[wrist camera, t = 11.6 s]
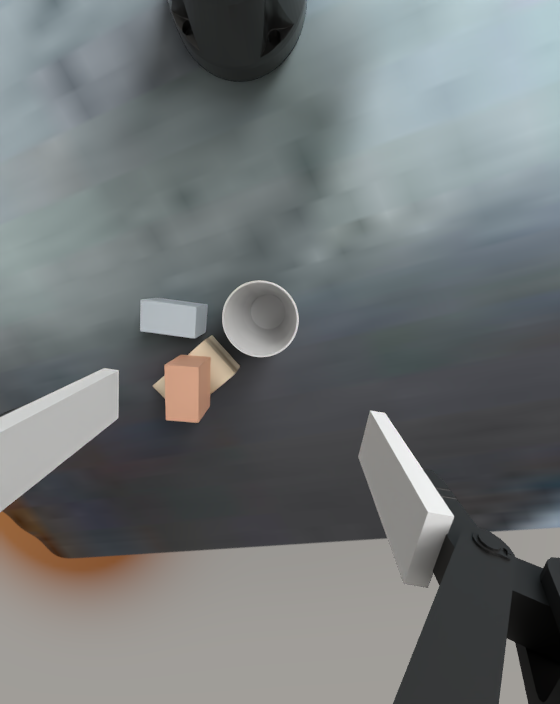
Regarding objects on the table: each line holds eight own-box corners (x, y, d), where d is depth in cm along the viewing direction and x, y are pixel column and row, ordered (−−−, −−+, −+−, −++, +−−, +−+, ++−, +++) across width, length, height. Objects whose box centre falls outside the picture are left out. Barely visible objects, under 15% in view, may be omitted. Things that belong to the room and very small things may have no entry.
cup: (248, 346, 41) (235, 365, 32) (231, 290, 40) (212, 292, 30) (303, 331, 41) (306, 346, 31) (288, 274, 39) (287, 270, 29)
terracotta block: (180, 354, 38) (164, 364, 33) (210, 356, 38) (198, 367, 33) (181, 403, 40) (165, 420, 35) (209, 406, 40) (198, 422, 35)
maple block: (212, 334, 42) (204, 339, 38) (240, 365, 42) (235, 373, 39) (165, 377, 43) (152, 386, 39) (192, 405, 44) (183, 417, 40)
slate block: (157, 325, 41) (140, 331, 37) (158, 297, 40) (140, 299, 36) (206, 332, 41) (194, 338, 36) (208, 304, 40) (196, 306, 36)
